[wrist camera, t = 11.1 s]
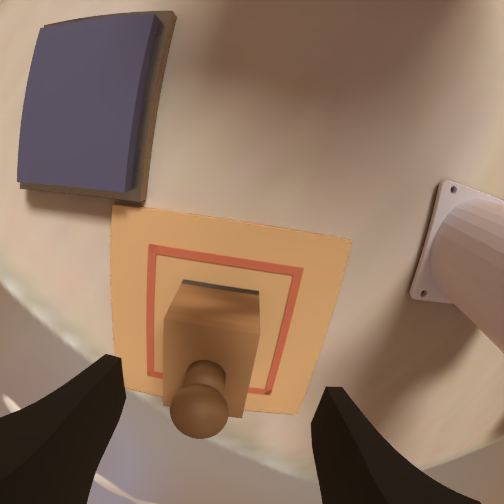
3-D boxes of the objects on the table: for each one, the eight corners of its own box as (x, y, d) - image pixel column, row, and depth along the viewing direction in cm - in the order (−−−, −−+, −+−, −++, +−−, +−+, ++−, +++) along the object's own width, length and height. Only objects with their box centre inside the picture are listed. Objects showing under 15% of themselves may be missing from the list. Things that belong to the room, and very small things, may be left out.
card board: (350, 239, 18) (352, 242, 18) (296, 410, 22) (297, 415, 22) (114, 203, 17) (111, 205, 17) (120, 382, 22) (118, 386, 21)
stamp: (259, 291, 19) (262, 391, 11) (244, 369, 21) (239, 472, 12) (183, 279, 18) (138, 371, 10) (178, 358, 20) (147, 457, 12)
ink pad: (176, 17, 14) (168, 4, 12) (146, 199, 17) (134, 205, 15) (52, 28, 13) (36, 21, 12) (28, 186, 17) (10, 191, 15)
